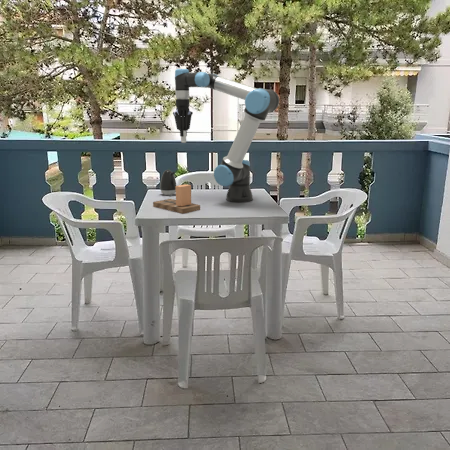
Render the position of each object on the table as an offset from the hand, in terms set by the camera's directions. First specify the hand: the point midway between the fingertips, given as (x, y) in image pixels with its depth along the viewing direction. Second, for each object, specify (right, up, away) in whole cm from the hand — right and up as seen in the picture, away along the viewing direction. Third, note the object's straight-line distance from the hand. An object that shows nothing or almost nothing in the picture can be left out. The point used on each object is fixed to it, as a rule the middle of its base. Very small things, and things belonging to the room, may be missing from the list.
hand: (183, 142), depth 250 cm
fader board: (-3, -38, -14) cm, 40 cm away
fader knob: (+2, -36, -19) cm, 41 cm away
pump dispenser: (-11, -28, +21) cm, 37 cm away
